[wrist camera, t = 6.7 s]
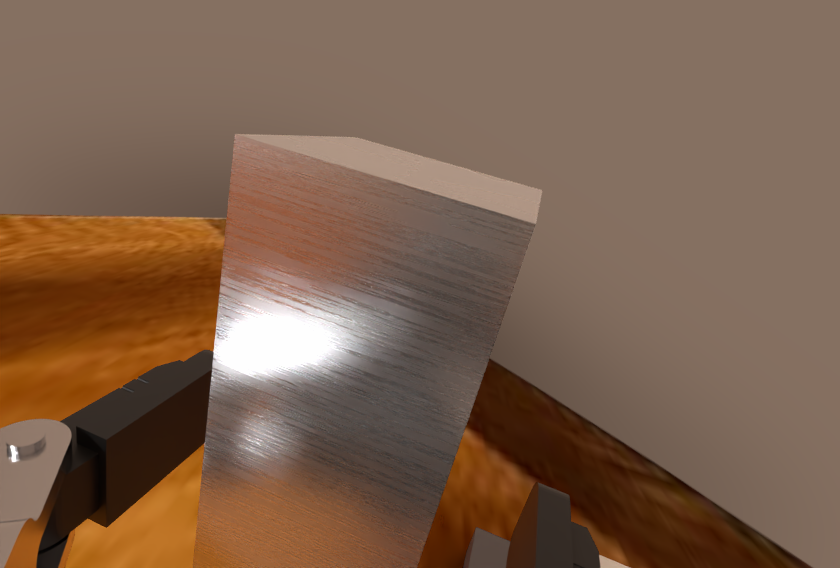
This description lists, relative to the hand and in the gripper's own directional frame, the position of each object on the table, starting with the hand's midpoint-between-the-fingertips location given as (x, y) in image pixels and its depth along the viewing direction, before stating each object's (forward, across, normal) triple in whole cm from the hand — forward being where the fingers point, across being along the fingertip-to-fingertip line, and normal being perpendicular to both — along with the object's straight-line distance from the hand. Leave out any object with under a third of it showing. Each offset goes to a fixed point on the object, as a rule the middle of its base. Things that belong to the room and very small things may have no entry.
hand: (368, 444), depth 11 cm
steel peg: (-2, 0, +9) cm, 9 cm away
